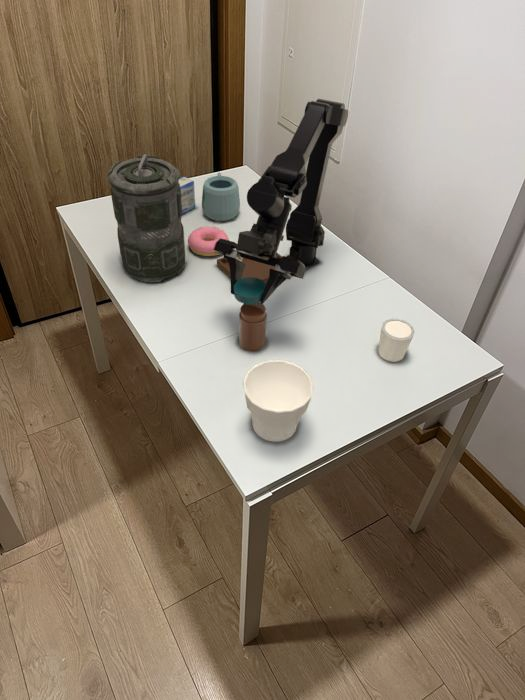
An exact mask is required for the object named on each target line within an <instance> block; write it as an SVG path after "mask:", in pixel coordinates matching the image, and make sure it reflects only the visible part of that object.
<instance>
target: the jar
mask: <svg viewBox="0 0 525 700" xmlns="http://www.w3.org/2000/svg"><path fill="white" fill-rule="evenodd" d="M238 315H239V316H238V345H239V347H240V348H241V349H242V350H244V351H247V352H258V351H260V350H262V349H263V348H264V347H265V346H266V337H267V335H266V334H267V320H268V319H267V318H268V314H267V308H266V306H265V304H261V303H260V302H259V303H255V304H244V303H242V305H241V306H240V308H239V313H238Z"/></svg>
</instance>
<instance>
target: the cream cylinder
mask: <svg viewBox="0 0 525 700" xmlns="http://www.w3.org/2000/svg"><path fill="white" fill-rule="evenodd" d="M380 328H381V329H380V336H379V343H378V348H377V349H378V350H377V351H378V355H379V356H380V357H381V358H382V359H383V360H385V361H388V362H392V363H393V362H395V363H396V362H399V361H402V360H403V359H404V357H405V355H406V353H407V351H408V349H409V346H410V345H411V342H412V340H413V337H414V335H415V329H414V326H413V325H412V324H411V323H410V322H407V321H406V320H403V319H400V318H389V319H386V320H385V321H384V322H382V324H381V327H380Z"/></svg>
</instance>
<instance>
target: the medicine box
mask: <svg viewBox="0 0 525 700" xmlns="http://www.w3.org/2000/svg"><path fill="white" fill-rule="evenodd" d="M178 182H179V184H180V187H181V201H182V215H184V214H186V213H188V212H190V211H192V210H194V209H196V195H195V181H194V180H193V179H191V178H188V177H186V176H182V177H180V178H179V181H178Z"/></svg>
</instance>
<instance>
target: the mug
mask: <svg viewBox="0 0 525 700" xmlns="http://www.w3.org/2000/svg"><path fill="white" fill-rule="evenodd" d="M239 189H240V188H239V185H238V182H237V180H236V179H234V178H232V177H230V176H227V175H226V176H225V175H222V173H221V172H217V175H214V176H210V177H208V178H206V179H205V180H204V181H203V186H202V196H201V208H202V213H203V214H204V216H206V217H207V218H209V219H210V220H213V221H217V222H226V221H230V220H232V219H234V218H235V217H237V216H238V214H239V213H240V209H241V208H240V207H241V199H240V190H239Z"/></svg>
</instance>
